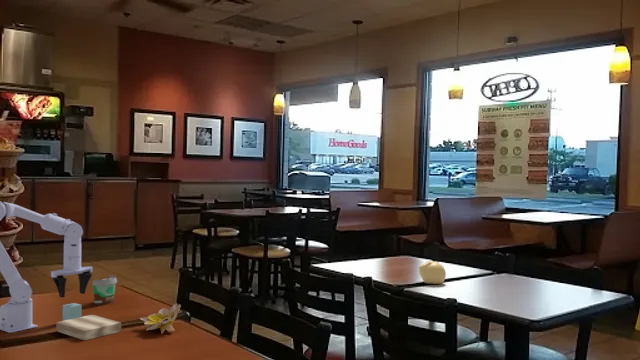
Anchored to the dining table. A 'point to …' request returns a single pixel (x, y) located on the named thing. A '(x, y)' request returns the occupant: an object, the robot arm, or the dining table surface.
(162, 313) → the decorative flower
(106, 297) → the food container
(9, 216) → the robot arm
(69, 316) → the teal block
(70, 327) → the flat cream rectangular board
